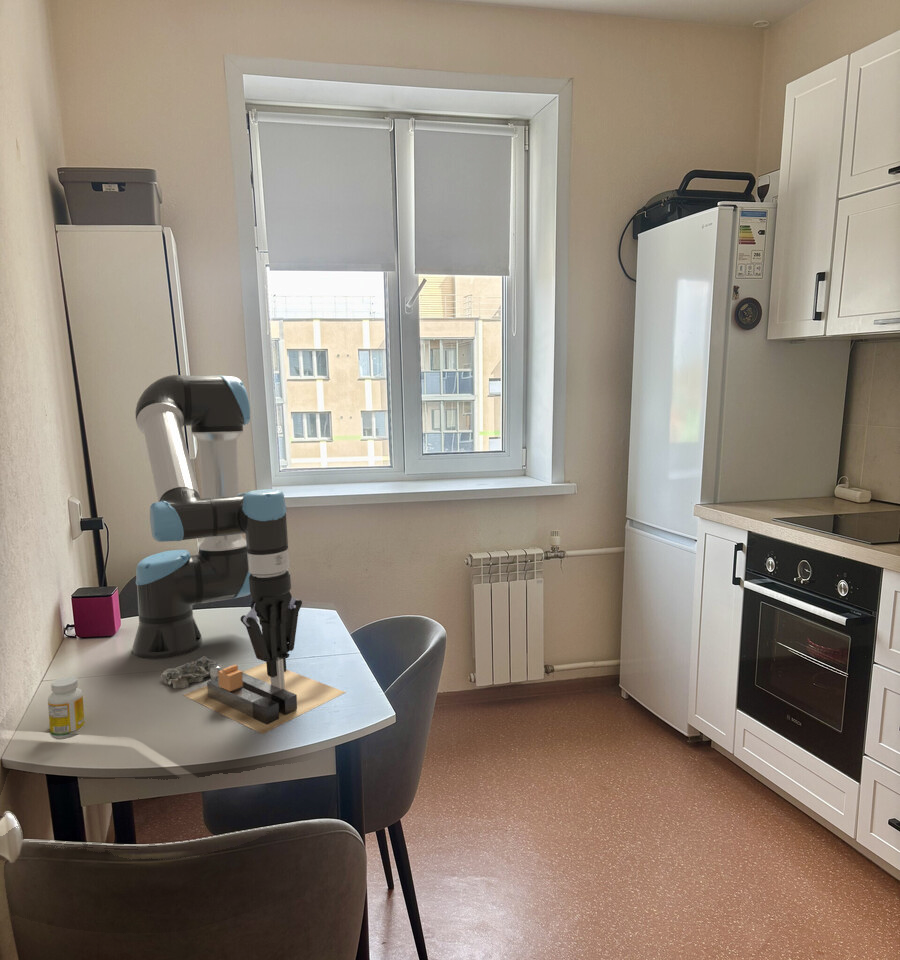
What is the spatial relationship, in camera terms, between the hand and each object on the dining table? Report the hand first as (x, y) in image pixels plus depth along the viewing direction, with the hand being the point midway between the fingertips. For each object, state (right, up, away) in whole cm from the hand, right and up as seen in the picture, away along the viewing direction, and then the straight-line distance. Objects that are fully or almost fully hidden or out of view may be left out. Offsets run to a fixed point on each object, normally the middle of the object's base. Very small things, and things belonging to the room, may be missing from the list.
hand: (278, 690), depth 125 cm
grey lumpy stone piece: (-21, -2, +11) cm, 24 cm away
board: (-3, -3, +3) cm, 6 cm away
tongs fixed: (-7, -2, -1) cm, 7 cm away
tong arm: (-4, -2, +1) cm, 4 cm away
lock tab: (-9, +1, -1) cm, 9 cm away
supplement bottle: (-35, -5, -9) cm, 37 cm away
